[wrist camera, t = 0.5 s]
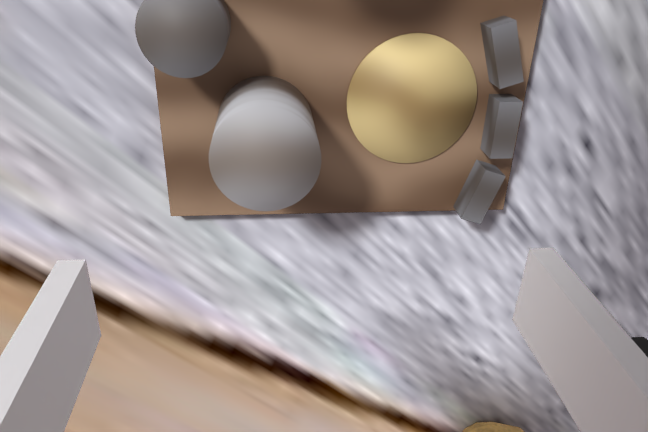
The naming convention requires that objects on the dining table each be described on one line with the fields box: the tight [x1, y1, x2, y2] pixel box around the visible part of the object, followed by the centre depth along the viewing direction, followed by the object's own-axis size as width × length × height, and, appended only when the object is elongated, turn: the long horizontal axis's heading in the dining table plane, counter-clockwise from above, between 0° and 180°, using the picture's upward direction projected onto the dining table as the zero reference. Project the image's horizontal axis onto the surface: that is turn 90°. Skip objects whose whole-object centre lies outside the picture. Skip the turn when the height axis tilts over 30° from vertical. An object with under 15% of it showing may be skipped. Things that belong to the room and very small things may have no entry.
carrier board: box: [135, 0, 543, 224], centre depth 35 cm, size 17×25×8 cm
